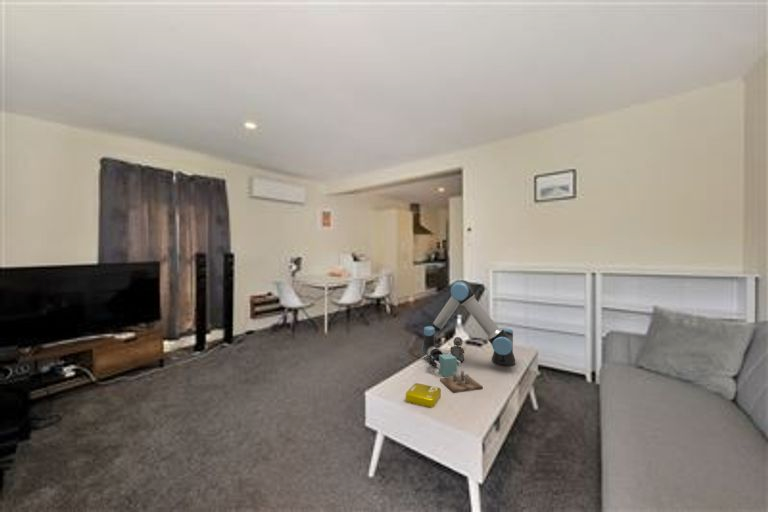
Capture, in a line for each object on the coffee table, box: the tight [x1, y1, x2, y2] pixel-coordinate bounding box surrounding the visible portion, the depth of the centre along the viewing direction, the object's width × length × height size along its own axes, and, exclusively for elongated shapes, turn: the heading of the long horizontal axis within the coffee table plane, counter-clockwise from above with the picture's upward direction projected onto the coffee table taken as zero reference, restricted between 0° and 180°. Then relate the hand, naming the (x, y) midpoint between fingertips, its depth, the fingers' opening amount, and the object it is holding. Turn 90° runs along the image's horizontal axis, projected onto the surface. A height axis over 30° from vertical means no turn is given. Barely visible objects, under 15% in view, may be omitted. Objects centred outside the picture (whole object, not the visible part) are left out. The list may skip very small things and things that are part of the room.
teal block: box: [438, 353, 458, 378], centre depth 196 cm, size 8×8×11 cm
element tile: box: [405, 383, 442, 408], centre depth 164 cm, size 15×15×5 cm
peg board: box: [439, 370, 483, 394], centre depth 180 cm, size 18×16×6 cm
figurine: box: [449, 336, 465, 364], centre depth 220 cm, size 9×12×15 cm
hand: (449, 365), depth 193 cm, fingers open, 13 cm apart
